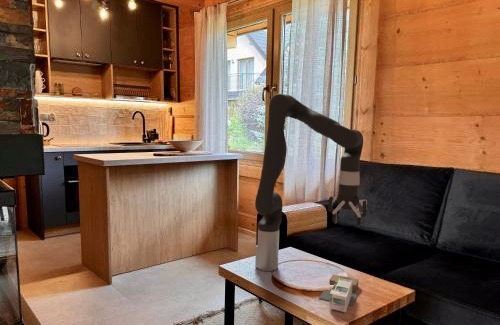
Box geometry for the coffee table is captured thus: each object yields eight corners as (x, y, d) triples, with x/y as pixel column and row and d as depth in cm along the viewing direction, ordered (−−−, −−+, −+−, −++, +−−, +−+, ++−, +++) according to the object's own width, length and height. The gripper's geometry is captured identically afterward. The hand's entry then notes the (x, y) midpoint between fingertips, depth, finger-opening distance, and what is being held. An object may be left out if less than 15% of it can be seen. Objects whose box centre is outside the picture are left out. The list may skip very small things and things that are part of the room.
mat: (319, 299, 134) (319, 297, 134) (326, 287, 143) (326, 286, 143) (352, 306, 128) (352, 305, 128) (358, 293, 138) (358, 292, 138)
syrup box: (352, 280, 136) (346, 296, 122) (351, 295, 136) (345, 313, 123) (337, 277, 138) (329, 292, 125) (336, 292, 138) (328, 309, 125)
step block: (329, 287, 143) (329, 279, 143) (332, 281, 149) (333, 274, 149) (355, 292, 139) (356, 285, 139) (358, 286, 145) (358, 279, 144)
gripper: (327, 182, 138) (325, 224, 140) (367, 186, 132) (364, 230, 134) (332, 179, 145) (330, 220, 147) (370, 183, 139) (367, 225, 141)
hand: (346, 224), depth 140 cm, fingers open, 8 cm apart
